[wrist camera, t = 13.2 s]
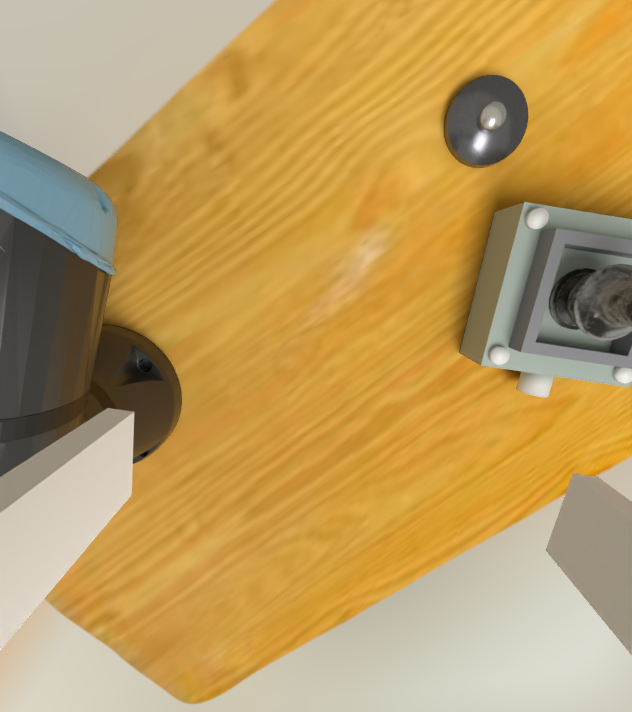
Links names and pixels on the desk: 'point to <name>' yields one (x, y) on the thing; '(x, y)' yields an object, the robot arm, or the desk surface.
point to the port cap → (486, 121)
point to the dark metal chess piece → (595, 301)
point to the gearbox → (544, 297)
